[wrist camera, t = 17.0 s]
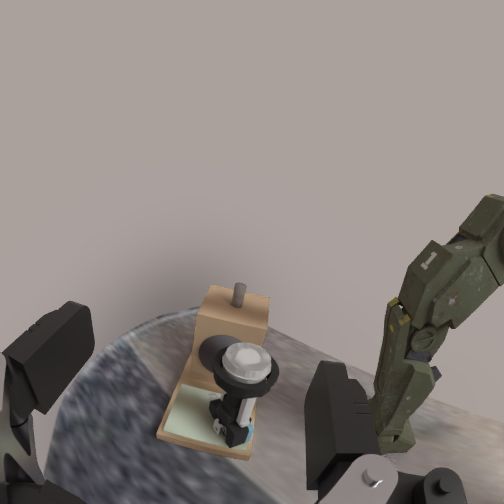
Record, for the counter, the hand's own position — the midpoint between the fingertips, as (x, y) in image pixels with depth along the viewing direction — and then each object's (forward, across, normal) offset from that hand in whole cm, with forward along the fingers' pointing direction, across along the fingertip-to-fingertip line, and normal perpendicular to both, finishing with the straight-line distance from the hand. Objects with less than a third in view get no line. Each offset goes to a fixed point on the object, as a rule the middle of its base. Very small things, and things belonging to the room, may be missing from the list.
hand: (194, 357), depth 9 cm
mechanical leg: (+13, -19, +20) cm, 30 cm away
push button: (+11, -1, +19) cm, 22 cm away
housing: (+16, 0, +20) cm, 25 cm away
